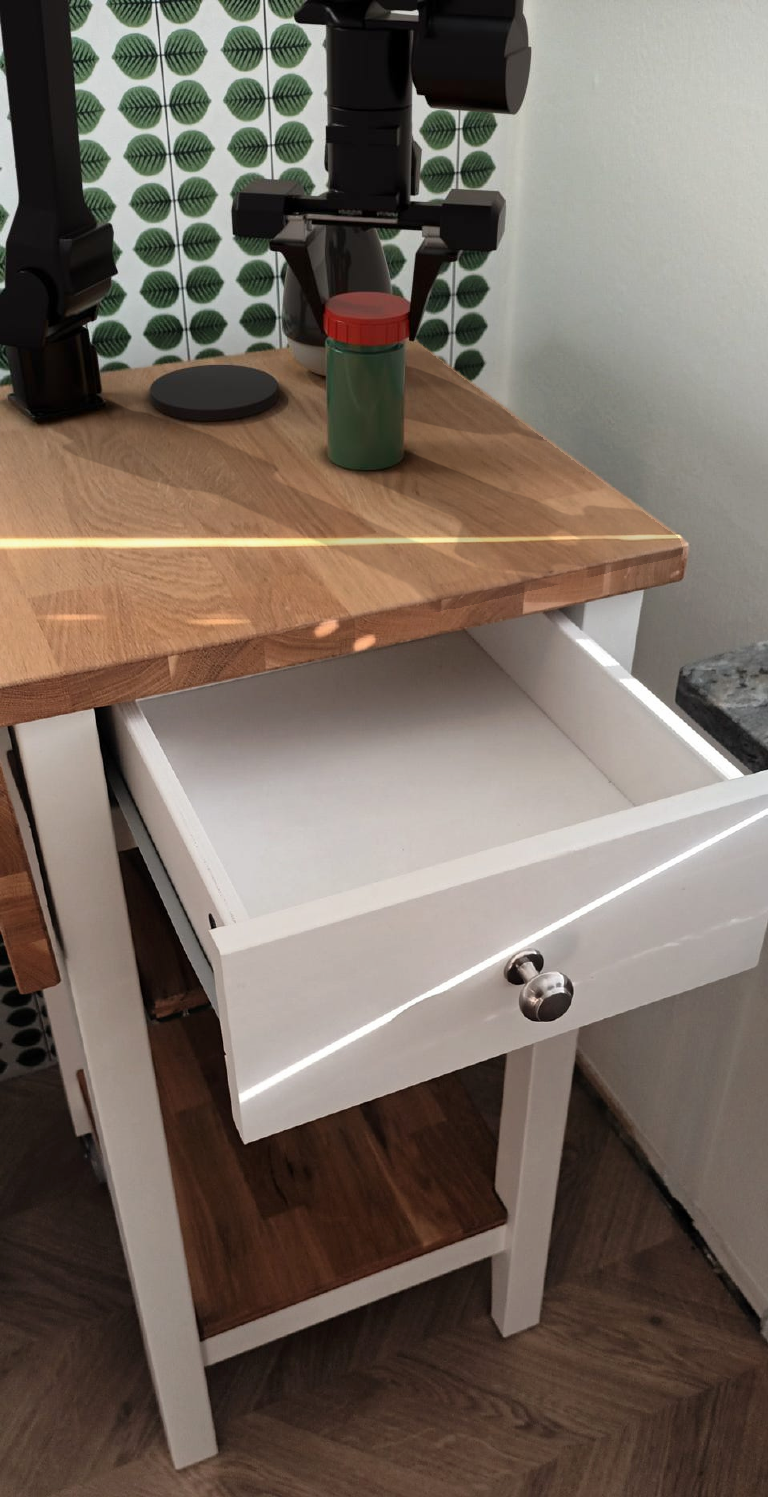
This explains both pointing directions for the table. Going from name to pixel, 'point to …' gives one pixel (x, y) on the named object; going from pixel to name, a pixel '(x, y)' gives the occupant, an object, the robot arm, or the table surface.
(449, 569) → the table surface
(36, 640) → the table surface
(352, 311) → the lid
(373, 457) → the jar
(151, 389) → the coaster
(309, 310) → the pump dispenser
